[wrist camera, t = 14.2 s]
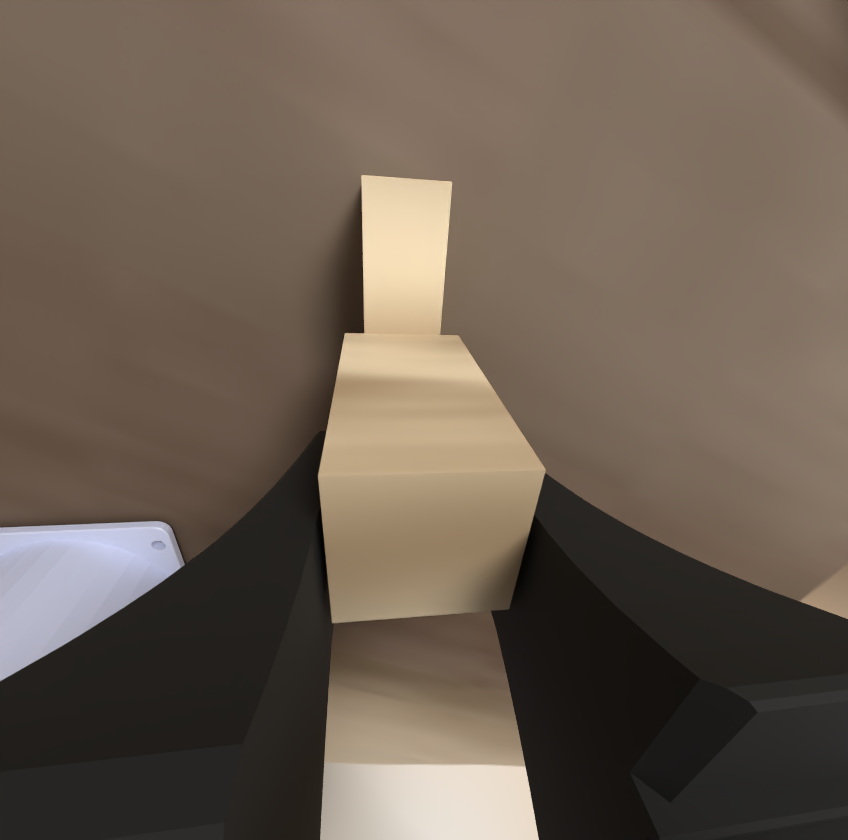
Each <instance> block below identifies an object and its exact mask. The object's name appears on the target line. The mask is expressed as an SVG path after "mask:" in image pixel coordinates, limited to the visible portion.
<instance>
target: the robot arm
mask: <svg viewBox="0 0 848 840" xmlns="http://www.w3.org/2000/svg"><path fill="white" fill-rule="evenodd" d="M325 437H326V431H320V432H319V433H318V434H317V435H316V436H315V437H314V439H313V440H312V441H311V443H310V444H309V445H308V447H307V448H306V449H305V450H304V452H303V453H302V454H301V455H300V457H299V458H298V459H297V460H296V462H295V463H294V464H293V465H292V466H291V468H290V469H289V470H288V471H287V472H286V473H285V474H284V476H283V477H282V478H281V479H280V480H279V481H278V482H277V484H276V485H275V486H274V487H273V488H272V489H271V490H270V491H269V492H268V493H267V494H266V495H265V496H264V497H263V498H262V499H261V500H260V501H259V502H258V503H257V504H256V505H255V506H254V507H253V508H252V509H251V510H250V511H249V512H248V513H247V514H246V515H245V516H244V517H243V518H242V519H241V520H239V521H238V522H237V523H236V524H235V525H234V526H233V527H232V528H231V529H229V530H228V531H227V532H226V533H225V534H224V535H222V536H221V537H220V538H219V539H218V540H217V541H215V542H214V543H213V544H212V545H211V546H209V547H208V548H207V549H205V550H204V551H203V552H201V553H200V554H199V555H197V556H196V557H195V558H193V559H192V560H191V561H189V562H188V563H187V564H184V561H183V558H182V556H181V553H180V550H179V547H178V544H177V542H176V539H175V536H174V533H173V530H172V529H171V527H170V526H169V525H168V524H166V523H164V522H159V521H149V522H125V523H101V524H77V525H53V526H29V527H5V528H0V840H320V829H321V809H322V788H323V772H324V753H325V736H326V719H327V703H328V687H329V671H330V656H331V641H332V633H333V624H334V623H332V616H331V606H330V595H329V585H328V575H327V564H326V554H325V543H324V533H323V523H322V512H321V502H320V491H319V481H318V474H319V469H320V463H321V458H322V453H323V447H324V442H325ZM159 541H161V542H159ZM162 542H163V543H162ZM491 612H492V616H493V619H494V623H495V626H496V630H497V634H498V639H499V643H500V647H501V652H502V656H503V660H504V665H505V669H506V673H507V678H508V683H509V687H510V692H511V697H512V701H513V706H514V711H515V715H516V720H517V725H518V730H519V735H520V740H521V745H522V750H523V755H524V761H525V766H526V770H527V776H528V781H529V786H530V791H531V797H532V803H533V809H534V813H535V820H536V825H537V831H538V837H539V840H848V619H846V618H843V617H840V616H838V615H835V614H832V613H829V612H827V611H824V610H821V609H818V608H816V607H813V606H810V605H807V604H805V603H802V602H799V601H796V600H794V599H791V598H788V597H785V596H783V595H780V594H777V593H774V592H772V591H769V590H766V589H764V588H761V587H759V586H756V585H754V584H751V583H749V582H747V581H744V580H742V579H739V578H737V577H735V576H732V575H730V574H728V573H725V572H723V571H720V570H718V569H716V568H713V567H711V566H709V565H706V564H704V563H702V562H700V561H698V560H695V559H693V558H691V557H689V556H687V555H684V554H682V553H680V552H678V551H676V550H674V549H672V548H670V547H668V546H666V545H664V544H662V543H660V542H658V541H656V540H654V539H652V538H650V537H648V536H646V535H644V534H642V533H640V532H638V531H636V530H634V529H633V528H631V527H629V526H627V525H625V524H624V523H622V522H620V521H618V520H617V519H615V518H613V517H612V516H610V515H608V514H606V513H605V512H603V511H601V510H599V509H598V508H596V507H594V506H593V505H591V504H590V503H588V502H587V501H585V500H583V499H582V498H580V497H579V496H577V495H576V494H574V493H573V492H572V491H570V490H569V489H567V488H566V487H564V486H563V485H561V484H560V483H558V482H557V481H556V480H554V479H553V478H551V477H550V476H549V475H547V474H546V473H545V475H544V479H543V482H542V486H541V490H540V494H539V497H538V501H537V505H536V509H535V513H534V516H533V520H532V524H531V528H530V532H529V535H528V539H527V543H526V547H525V551H524V554H523V558H522V562H521V566H520V570H519V573H518V577H517V581H516V585H515V589H514V592H513V596H512V600H511V604H510V608H509V609H508V610H495V611H491Z"/></svg>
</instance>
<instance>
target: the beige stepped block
mask: <svg viewBox="0 0 848 840" xmlns="http://www.w3.org/2000/svg"><path fill="white" fill-rule="evenodd" d="M451 190H452V182H447V181H434V180H421V179H407V178H394V177H380V176H367V175H362V230H363V284H364V334H363V333H345V335H344V341H343V346H342V351H341V357H340V362H339V367H338V373H337V378H336V383H335V389H334V394H333V399H332V405H331V410H330V415H329V421H328V426H327V431H326V437H325V442H324V447H323V453H322V458H321V463H320V469H319V474H318V481H319V491H320V502H321V512H322V523H323V533H324V543H325V554H326V564H327V575H328V585H329V595H330V606H331V616H332V623H342V622H355V621H367V620H380V619H393V618H406V617H419V616H431V615H444V614H457V613H470V612H482V611H495V610H508V609H509V608H510V604H511V600H512V596H513V592H514V589H515V585H516V581H517V577H518V573H519V570H520V566H521V562H522V558H523V554H524V551H525V547H526V543H527V539H528V535H529V532H530V528H531V524H532V520H533V516H534V513H535V509H536V505H537V501H538V497H539V494H540V490H541V486H542V482H543V479H544V475H545V471H546V470H545V468H544V466H543V465H542V463H541V462H540V460H539V459H538V457H537V456H536V454H535V453H534V451H533V450H532V448H531V446H530V445H529V443H528V442H527V440H526V439H525V437H524V436H523V434H522V433H521V431H520V430H519V428H518V427H517V425H516V423H515V422H514V420H513V419H512V417H511V416H510V414H509V413H508V411H507V410H506V408H505V407H504V405H503V403H502V402H501V400H500V399H499V397H498V396H497V394H496V393H495V391H494V390H493V388H492V387H491V385H490V384H489V382H488V380H487V379H486V377H485V376H484V374H483V373H482V371H481V370H480V368H479V367H478V365H477V364H476V362H475V360H474V359H473V357H472V356H471V354H470V353H469V351H468V350H467V348H466V347H465V345H464V344H463V342H462V340H461V339H460V337H459V336H458V335H440V328H441V315H442V303H443V290H444V278H445V265H446V253H447V240H448V228H449V215H450V203H451Z"/></svg>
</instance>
